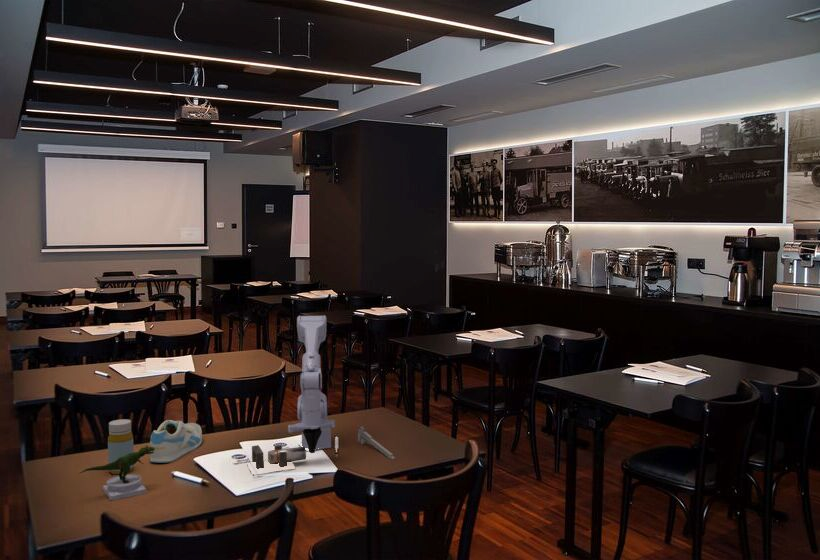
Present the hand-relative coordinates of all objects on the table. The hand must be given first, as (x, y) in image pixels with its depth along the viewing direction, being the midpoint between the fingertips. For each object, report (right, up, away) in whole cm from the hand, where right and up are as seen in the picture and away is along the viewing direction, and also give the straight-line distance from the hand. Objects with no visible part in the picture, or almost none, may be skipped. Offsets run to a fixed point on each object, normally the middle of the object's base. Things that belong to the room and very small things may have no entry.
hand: (311, 452), depth 212 cm
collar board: (-12, -4, -5) cm, 13 cm away
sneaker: (-46, -3, +11) cm, 47 cm away
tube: (-7, -2, -3) cm, 8 cm away
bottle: (-56, -4, -8) cm, 57 cm away
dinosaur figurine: (-50, -5, -25) cm, 56 cm away
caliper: (+20, -3, +11) cm, 23 cm away
